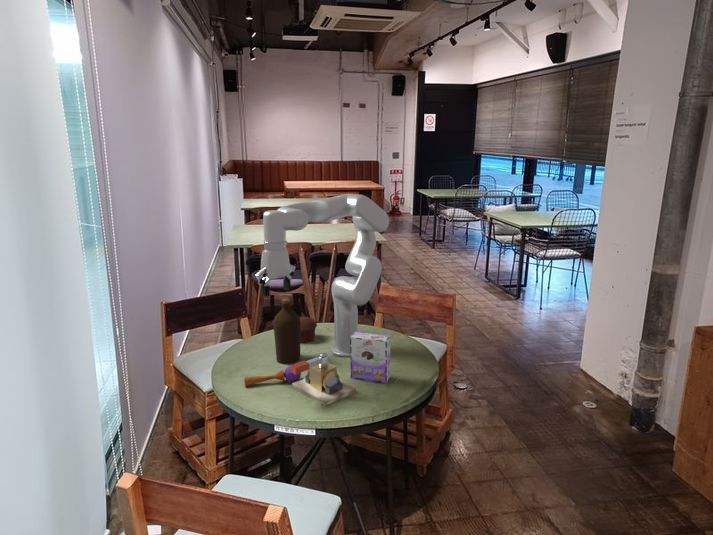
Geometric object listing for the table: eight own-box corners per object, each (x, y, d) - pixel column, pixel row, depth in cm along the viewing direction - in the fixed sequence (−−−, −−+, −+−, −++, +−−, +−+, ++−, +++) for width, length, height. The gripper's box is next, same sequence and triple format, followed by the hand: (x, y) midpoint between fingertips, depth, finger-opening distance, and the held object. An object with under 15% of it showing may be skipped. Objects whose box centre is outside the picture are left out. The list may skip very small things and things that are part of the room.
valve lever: (323, 363, 171) (323, 351, 170) (329, 366, 169) (329, 354, 168) (290, 376, 162) (289, 364, 160) (296, 379, 159) (295, 367, 158)
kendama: (243, 371, 177) (298, 362, 180) (246, 387, 177) (301, 377, 181) (243, 376, 171) (300, 366, 175) (245, 392, 171) (302, 382, 175)
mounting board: (322, 374, 182) (322, 371, 182) (356, 391, 169) (356, 387, 169) (292, 387, 173) (292, 383, 172) (325, 406, 160) (325, 402, 160)
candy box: (390, 377, 180) (391, 335, 176) (386, 384, 175) (386, 341, 171) (355, 371, 184) (355, 330, 180) (350, 378, 179) (349, 336, 175)
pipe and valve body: (319, 376, 178) (319, 358, 176) (343, 388, 168) (343, 369, 167) (304, 382, 173) (303, 364, 171) (328, 395, 164) (327, 376, 162)
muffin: (300, 346, 207) (299, 324, 205) (285, 339, 215) (284, 318, 213) (322, 339, 215) (322, 318, 213) (307, 332, 223) (306, 311, 221)
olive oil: (294, 366, 189) (292, 305, 183) (270, 362, 192) (266, 302, 186) (306, 355, 199) (304, 296, 193) (282, 352, 202) (280, 294, 196)
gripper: (286, 241, 180) (288, 286, 184) (248, 248, 167) (250, 296, 171) (300, 244, 175) (301, 290, 179) (262, 251, 163) (264, 300, 166)
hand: (276, 293), depth 175 cm, fingers open, 9 cm apart
